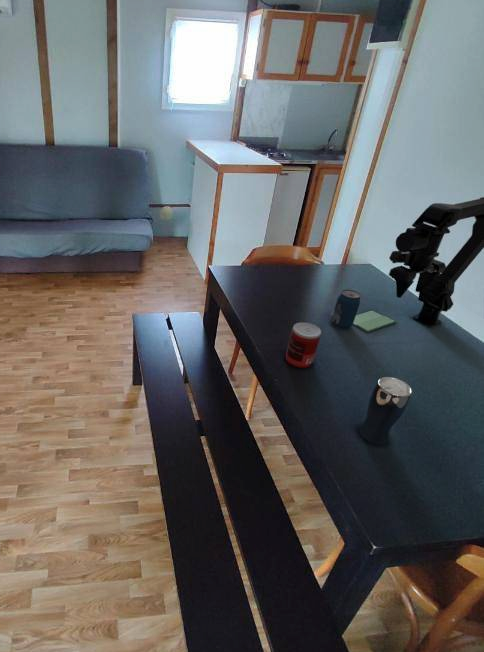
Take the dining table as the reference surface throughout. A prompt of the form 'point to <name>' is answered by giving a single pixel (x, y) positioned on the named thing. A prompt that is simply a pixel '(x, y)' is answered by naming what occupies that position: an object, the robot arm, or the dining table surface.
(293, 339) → the canned food
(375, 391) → the beer glass
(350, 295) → the soda can
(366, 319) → the cloth
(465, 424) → the dining table surface
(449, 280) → the robot arm
